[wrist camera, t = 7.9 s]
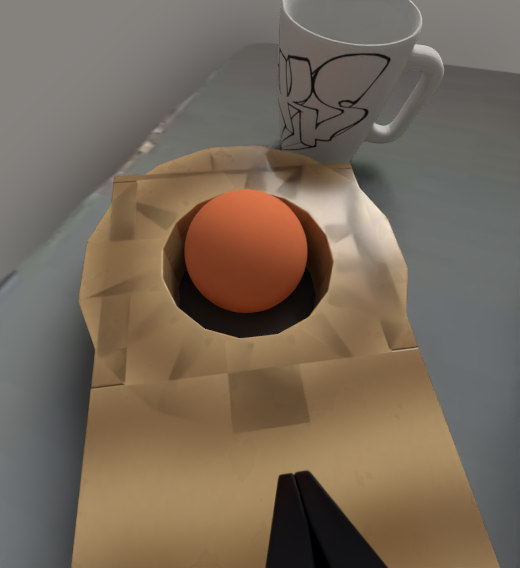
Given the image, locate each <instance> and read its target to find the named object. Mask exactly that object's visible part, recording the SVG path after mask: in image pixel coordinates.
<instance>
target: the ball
mask: <svg viewBox="0 0 520 568" xmlns="http://www.w3.org/2000/svg"><path fill="white" fill-rule="evenodd" d="M184 253H185V262H186V267H187V270H188V273H189V275H190V277H191V280H192V281H193V283H194V285H195V286H196V288H197V289H198V290H199V291H200V293H201V294H202V295H203V296H204V297H205V298H207V299H208V300H209V301H210V302H212V303H213V304H215V305H217V306H219V307H221V308H223V309H226V310H229V311H233V312H238V313H254V312H260V311H263V310H266V309H269V308H271V307H273V306H276V305H277V304H279V303H280V302H282V301H283V300H284V299H286V298H287V297H288V296H289V295H290V294H291V293H292V292H293V291H294V289H295V288H296V287H297V285H298V284H299V282H300V280H301V278H302V276H303V273H304V270H305V267H306V262H307V241H306V236H305V233H304V230H303V228H302V226H301V223H300V221H299V220H298V218H297V217H296V215H295V214H294V213H293V211H292V210H291V209H290V208H289V207H288V206H287V205H286V204H285V203H283V202H282V201H281V200H279V199H278V198H276V197H274V196H272V195H270V194H267V193H265V192H261V191H257V190H235V191H230V192H227V193H224V194H222V195H219V196H217V197H216V198H214V199H212V200H211V201H209V202H208V203H207V204H206V205H204V206H203V207H202V208H201V209H200V210H199V212H198V213H197V214H196V216H195V217H194V219H193V221H192V222H191V224H190V227H189V229H188V232H187V236H186V240H185V248H184Z"/></svg>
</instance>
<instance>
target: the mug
mask: <svg viewBox="0 0 520 568" xmlns="http://www.w3.org/2000/svg"><path fill="white" fill-rule="evenodd" d="M421 27H422V16H421V13H420V11H419V9H418V8H417V7H416V6H415V4H414V3H412V2H411V1H410V0H282V4H281V10H280V24H279V53H278V108H279V124H280V138H281V147H282V151H286V152H291V153H295V154H300V155H304V156H308V157H310V158H312V159H314V160H315V161H317V162H319V163H321V164H330V163H346V162H350V160H351V159H352V158H353V156H354V154H355V153H356V151H357V150H358V148H359V147H360V145H361V143H362V142H364V141H367V142H371V143H379V144H383V143H389V142H392V141H394V140H396V139H398V138H399V137H400V136H401V135H402V134H403V133H404V132H405V131H406V130H407V128H408V127H409V126H410V124H411V123H412V121H413V120H414V119H415V117H416V116H417V115H418V114H419V112H420V111H421V110H422V109H423V107H424V106H425V105H426V104H427V102H428V101H429V100H430V99H431V97H432V96H433V95H434V93H435V91H436V90H437V88H438V86H439V84H440V82H441V80H442V78H443V74H444V66H443V63H442V60H441V57H440V56H439V54H438V53H437V52H436V51H435V50H434V49H432V48H430V47H427V46H424V45H417V44H415V43H416V41H417V39H418V36H419V34H420V31H421ZM411 70H418V71H421V72H423V73H422V76H421V78H420V80H419V82H418V84H417V86H416V87H415V89H414V90H413V92H412V93H411V95H410V96H409V98H408V99H407V101H406V102H405V104H404V105H403V107H402V108H401V110H400V112H399V113H398V115H397V116H396V118H395V119H394V120H393V122H392V123H390V124H389V125H387V126H380V125H377V124H375V121H376V119H377V118H378V116H379V114H380V112H381V111H382V109H383V107H384V105H385V103H386V101H387V99H388V97H389V95H390V93H391V91H392V89H393V87H394V85H395V83H396V81H397V79H398V78H399V77H400V76H401V75H402V74H403V73H405V72H407V71H411Z"/></svg>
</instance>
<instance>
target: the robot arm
mask: <svg viewBox="0 0 520 568" xmlns="http://www.w3.org/2000/svg"><path fill="white" fill-rule="evenodd" d="M265 568H388V567H387V566H386V564H385V563H384V562H383V561H382V559H381V558H380V557H379V556H378V554H377V553H376V552H375V551H374V549H373V548H372V547H371V546H370V545H369V543H368V542H367V541H366V540H365V538H364V537H363V536H362V535H361V533H360V532H359V531H358V530H357V528H356V527H355V526H354V525H353V524H352V522H351V521H350V520H349V519H348V517H347V516H346V515H345V514H344V512H343V511H342V510H341V509H340V507H339V506H338V505H337V504H336V503H335V501H334V500H333V499H332V498H331V496H330V495H329V494H328V493H327V491H326V490H325V489H324V488H323V487H322V485H321V484H320V483H319V482H318V480H317V479H316V478H315V477H314V475H313V474H312V473H311V472H310V471H308V470H304V471H298V472H295V473H294V474H293V473H286V474H280V475H279V476H278V482H277V489H276V496H275V503H274V510H273V517H272V524H271V531H270V538H269V545H268V552H267V559H266V566H265Z"/></svg>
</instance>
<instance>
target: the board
mask: <svg viewBox="0 0 520 568" xmlns="http://www.w3.org/2000/svg"><path fill="white" fill-rule="evenodd" d="M113 183H114V184H113V193H112V202H111V205H110V207H109V209H108V210H107V212H106V213H105V215H104V216H103V218H102V219H101V221H100V223H99V224H98V226H97V227H96V229H95V230H94V232H93V233H92V235H91V237H90V238H89V240H88V241H87V244H86V251H85V258H84V265H83V271H82V278H81V285H80V292H79V301H78V302H79V305H80V308H81V311H82V314H83V317H84V320H85V322H86V325H87V328H88V331H89V334H90V337H91V340H92V343H93V345H94V348H95V356H94V365H93V374H92V383H91V388H93V389H91V391H90V400H89V409H88V418H87V427H86V436H85V445H84V454H83V463H82V472H81V481H80V490H79V499H78V508H77V517H76V526H75V535H74V544H73V553H72V562H71V568H265V566H266V559H267V552H268V545H269V538H270V531H271V524H272V517H273V510H274V503H275V496H276V489H277V482H278V476H279V475H280V474H286V473H293V474H294V473H295V472H298V471H304V470H308V471H310V472H311V473H312V474H313V475H314V477H315V478H316V479H317V480H318V482H319V483H320V484H321V485H322V487H323V488H324V489H325V490H326V491H327V493H328V494H329V495H330V496H331V498H332V499H333V500H334V501H335V503H336V504H337V505H338V506H339V507H340V509H341V510H342V511H343V512H344V514H345V515H346V516H347V517H348V519H349V520H350V521H351V522H352V524H353V525H354V526H355V527H356V528H357V530H358V531H359V532H360V533H361V535H362V536H363V537H364V538H365V540H366V541H367V542H368V543H369V545H370V546H371V547H372V548H373V549H374V551H375V552H376V553H377V554H378V556H379V557H380V558H381V559H382V561H383V562H384V563H385V564H386V566H387V567H388V568H500V566H499V563H498V561H497V558H496V555H495V553H494V550H493V547H492V544H491V542H490V539H489V536H488V534H487V531H486V528H485V526H484V523H483V520H482V518H481V515H480V512H479V509H478V507H477V504H476V501H475V499H474V496H473V493H472V491H471V488H470V485H469V482H468V480H467V477H466V474H465V472H464V469H463V466H462V464H461V461H460V458H459V455H458V453H457V450H456V447H455V445H454V442H453V439H452V437H451V434H450V431H449V428H448V426H447V423H446V420H445V418H444V415H443V412H442V410H441V407H440V404H439V402H438V399H437V396H436V393H435V391H434V388H433V385H432V383H431V380H430V377H429V375H428V372H427V369H426V366H425V364H424V361H423V358H422V356H421V353H420V350H419V348H417V347H418V345H417V342H416V339H415V337H414V334H413V331H412V329H411V326H410V323H409V321H408V318H407V315H406V303H407V281H408V268H407V265H406V262H405V260H404V257H403V255H402V252H401V250H400V247H399V245H398V242H397V240H396V237H395V235H394V232H393V230H392V227H391V225H390V222H389V220H388V218H387V217H386V216H385V215H384V214H383V213H382V212H381V210H380V209H379V208H378V207H377V206H376V205H375V204H374V203H373V202H372V201H371V200H370V199H369V198H368V197H367V196H366V194H365V193H364V192H363V191H362V190H361V189H360V188H359V186H358V183H357V180H356V178H355V175H354V172H353V169H352V167H351V164H350V162H346V163H330V164H321V163H319V162H317V161H315V160H314V159H312V158H310V157H308V156H304V155H300V154H295V153H291V152H286V151H282V150H277V149H273V148H268V147H264V146H238V147H219V148H208V149H204V150H201V151H198V152H196V153H193V154H190V155H187V156H184V157H181V158H178V159H175V160H172V161H169V162H166V163H163V164H161V165H158V166H157V167H155V168H154V169H152V170H151V171H150V172H148V173H147V174H144V175H128V176H114V182H113ZM235 190H257V191H261V192H265V193H267V194H270V195H272V196H274V197H276V198H278V199H279V200H281V201H282V202H283V203H285V204H286V205H287V206H288V207H289V208H290V209H291V210H292V211H293V213H294V214H295V215H296V217H297V218H298V220H299V221H300V223H301V226H302V228H303V230H304V233H305V236H306V241H307V262H306V268H307V269H308V270H309V272H310V273H311V278H312V282H313V286H314V290H315V294H316V297H315V302H314V307H313V312H312V313H311V314H310V316H309V317H308V318H306V319H304V320H302V321H301V322H299V323H297V324H295V325H293V326H292V327H290V328H288V329H286V330H284V331H283V332H281V333H279V334H274V335H266V336H257V337H249V338H237V337H233V336H229V335H226V334H222V333H218V332H215V331H211V330H207V329H204V328H203V327H202V326H201V325H199V324H198V323H197V322H196V321H194V320H193V319H192V318H191V317H189V316H188V315H187V314H186V313H184V312H183V311H182V310H181V309H179V284H180V282H181V280H182V278H183V275H184V273H185V271H186V268H187V267H186V262H185V253H184V248H185V240H186V236H187V232H188V229H189V227H190V224H191V222H192V221H193V219H194V217H195V216H196V214H197V213H198V212H199V210H200V209H201V208H202V207H203V206H204V205H206V204H207V203H208V202H209V201H211V200H212V199H214V198H216V197H217V196H219V195H222V194H224V193H227V192H230V191H235Z"/></svg>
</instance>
